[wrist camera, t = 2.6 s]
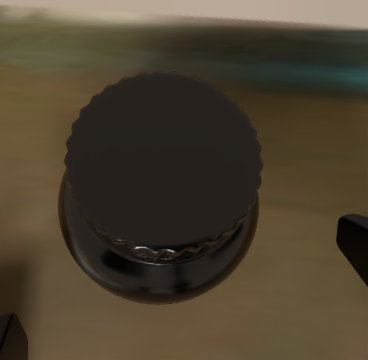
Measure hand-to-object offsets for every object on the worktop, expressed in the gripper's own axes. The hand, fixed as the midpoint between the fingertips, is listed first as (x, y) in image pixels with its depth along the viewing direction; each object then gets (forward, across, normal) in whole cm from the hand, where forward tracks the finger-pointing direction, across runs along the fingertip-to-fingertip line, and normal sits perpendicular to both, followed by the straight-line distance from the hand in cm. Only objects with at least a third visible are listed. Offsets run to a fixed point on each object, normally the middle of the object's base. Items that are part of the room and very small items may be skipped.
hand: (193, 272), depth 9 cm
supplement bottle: (+9, 0, +5) cm, 11 cm away
